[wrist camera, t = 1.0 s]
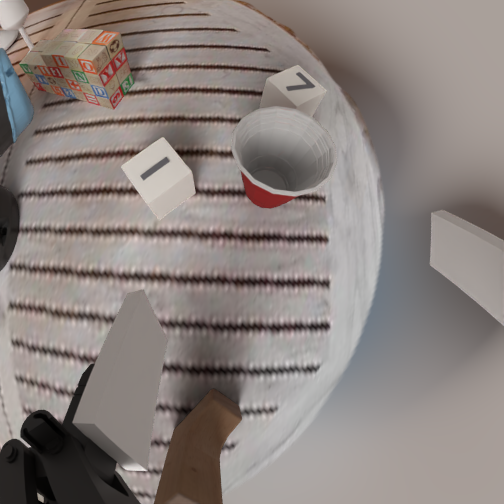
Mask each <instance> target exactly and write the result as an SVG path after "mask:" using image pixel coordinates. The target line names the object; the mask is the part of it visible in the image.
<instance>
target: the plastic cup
mask: <svg viewBox="0 0 504 504" xmlns="http://www.w3.org/2000/svg"><path fill="white" fill-rule="evenodd" d="M231 150H232V152H233V155H234V158H235V161H236V163H237V166H238V168H239V169H240V170H241V174H242V180H243V183H244V188H245V191H246V194H247V197H248V198H249V199H250V200H251V201H252V202H253V203H254V204H256V205H257V206H259V207H262V208H274V207H277V206H280V205H282V204H284V203H287V202H289V201H290V200H292V199H294V198H296V197H297V196H299V195H303V194H307V193H311V192H315V191H317V190H318V189H319V188H320V187H322V186H323V185H324V184H325V183H327V182H328V181H329V180H330V179H331V177H332V175H333V172H334V170H335V168H336V165H337V156H336V146H335V144H334V142H333V141H332V139H331V137H330V135H329V133H328V131H327V130H326V129H325V128H324V127H323V126H322V125H321V124H320V123H319V122H318V121H316V120H315V119H314V118H313V117H311V116H309V115H307V114H305V113H303V112H301V111H299V110H297V109H292V108H286V107H280V106H273V107H266V108H260V109H257V110H255V111H253V112H252V113H250V114H248V115H246V116H244V117H243V118H242V119H241V121H240V122H239V124H238V125H237V126H236V128H235V129H234V130H233V136H232V144H231Z"/></svg>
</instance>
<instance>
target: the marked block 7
mask: <svg viewBox="0 0 504 504" xmlns="http://www.w3.org/2000/svg"><path fill="white" fill-rule="evenodd" d="M326 92H327V91H326V90H325V89H324V88H323V87H322V86H321V85H320V84H319V83H318V82H317V81H316V80H315V79H313V78H312V77H311V76H310V75H309V74H308V73H307V72H306V71H304V70H303V69H302V68H301V67H300V66H299V65H296V66H293V67H291V68H289V69H286V70H284V71H282V72H279V73H277V74H275V75H273V76H271V77H268V78H267V79H266V83H265V87H264V90H263V94H262V98H261V102H260V106H259V107H260V108H266V107H273V106H280V107H286V108H292V109H297V110H299V111H301V112H303V113H305V114H307V115H309V116H311V117H313V115H314V113H315V111H316V109H317V108H318V106H319V104H320V102H321V101H322V99H323V97H324V95H325V94H326Z"/></svg>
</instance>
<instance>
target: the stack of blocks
mask: <svg viewBox="0 0 504 504" xmlns="http://www.w3.org/2000/svg"><path fill="white" fill-rule="evenodd" d="M19 65H20V66H21V68H22V69H23V70H24V72H25V73H26V74H27V75H28V77H29V78H30V79H31V81H32V82H33V83H34V84H35V86H36V87H37V89H38V90H42V91H47V92H49V93H54V94H58V95H62V96H67V97H71V98H75V99H79V100H83V101H87V102H89V103H93V104H96V105H100V106H103V107H106V108H109V109H113V110H114V109H115V107H116V106H117V105H118V103H119V102H120V101H121V99H122V98H123V97H124V95H125V94H126V93H127V91H128V90H129V89H130V88H131V86H132V85H133V84H134V81H133V77H132V73H131V72H130V68H129V64H128V61H127V55H126V52H125V48H124V46H123V42H122V38H121V34H120V32H111V31H104V30H96V29H90V30H89V29H77V30H76V29H64V30H63V31H62V32H61V33H60V34H59V35H58V36H57V37H56V38H55V39H54V40H40V41H39V42H38V43H37V44H36V45H35V46H34V47H33V48H32V49H31V51H30V52H29V53H28V54H27V55H26V56H25V57H24V59H23V60H22V61H21V62H20V63H19Z"/></svg>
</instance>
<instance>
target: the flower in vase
mask: <svg viewBox="0 0 504 504" xmlns="http://www.w3.org/2000/svg"><path fill="white" fill-rule="evenodd" d="M18 33H19V31H18V30H11V31H7V30H2V31H0V48H3V49H4V50H5V51H6V50H7V49H8V48H9V47H10V46H11V45H12V43H13V42H14V41H15V40H16V38H17V36H18Z"/></svg>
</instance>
